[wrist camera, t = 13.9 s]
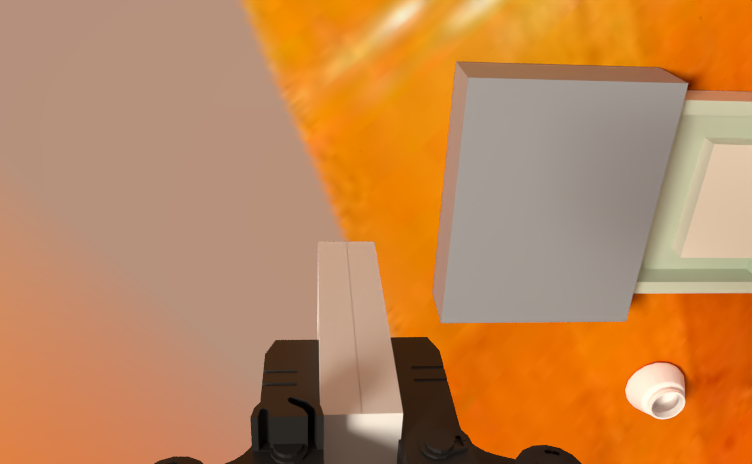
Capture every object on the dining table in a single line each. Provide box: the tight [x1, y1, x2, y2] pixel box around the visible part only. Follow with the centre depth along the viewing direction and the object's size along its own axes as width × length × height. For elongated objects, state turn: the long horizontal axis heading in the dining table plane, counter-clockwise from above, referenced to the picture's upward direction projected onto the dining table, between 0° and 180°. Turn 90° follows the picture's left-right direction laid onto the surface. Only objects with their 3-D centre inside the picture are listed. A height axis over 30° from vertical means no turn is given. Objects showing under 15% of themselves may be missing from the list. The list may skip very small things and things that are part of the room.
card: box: [672, 137, 752, 258], centre depth 50 cm, size 9×6×1 cm, turn 177°
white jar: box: [625, 363, 685, 419], centre depth 58 cm, size 5×3×5 cm
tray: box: [634, 90, 752, 293], centre depth 50 cm, size 15×12×2 cm
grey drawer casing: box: [433, 62, 689, 323], centre depth 48 cm, size 18×14×4 cm
